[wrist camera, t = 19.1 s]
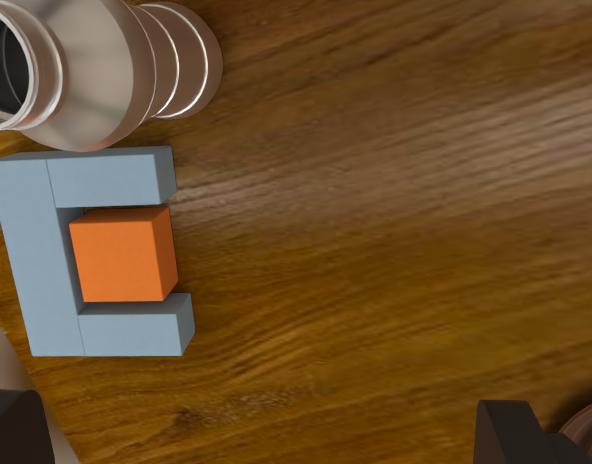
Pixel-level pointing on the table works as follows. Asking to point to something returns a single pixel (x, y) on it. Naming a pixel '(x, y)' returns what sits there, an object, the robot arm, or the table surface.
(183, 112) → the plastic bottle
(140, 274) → the orange block
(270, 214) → the table surface
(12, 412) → the robot arm
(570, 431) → the cup and saucer
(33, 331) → the light blue u-shaped block
